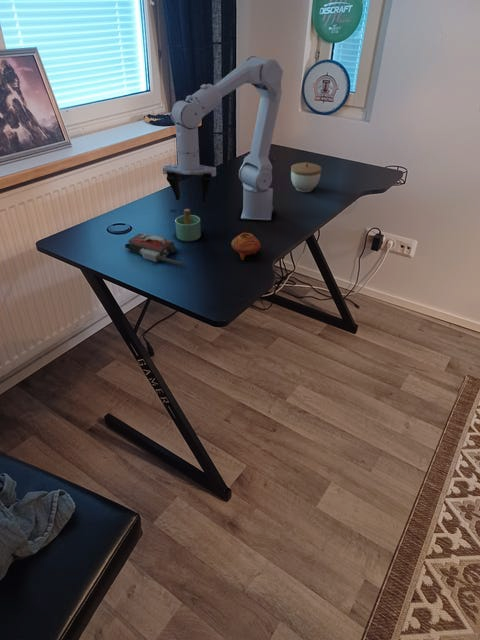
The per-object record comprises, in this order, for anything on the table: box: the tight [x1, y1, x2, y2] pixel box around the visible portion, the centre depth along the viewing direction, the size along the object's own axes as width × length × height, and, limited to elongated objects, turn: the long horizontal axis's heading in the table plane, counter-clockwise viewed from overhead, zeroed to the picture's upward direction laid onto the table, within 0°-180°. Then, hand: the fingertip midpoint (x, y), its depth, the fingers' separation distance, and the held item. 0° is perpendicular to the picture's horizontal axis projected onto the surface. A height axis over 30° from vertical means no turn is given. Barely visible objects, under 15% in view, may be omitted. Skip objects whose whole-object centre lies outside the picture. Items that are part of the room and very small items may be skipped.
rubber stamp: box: [183, 208, 193, 225], centre depth 132 cm, size 5×5×8 cm
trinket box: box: [290, 161, 323, 193], centre depth 162 cm, size 11×11×9 cm
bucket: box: [174, 214, 202, 242], centre depth 133 cm, size 7×7×5 cm
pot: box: [230, 232, 262, 261], centre depth 123 cm, size 8×8×7 cm
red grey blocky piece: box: [124, 233, 184, 266], centre depth 124 cm, size 9×4×20 cm
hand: (191, 199), depth 130 cm, fingers open, 7 cm apart
